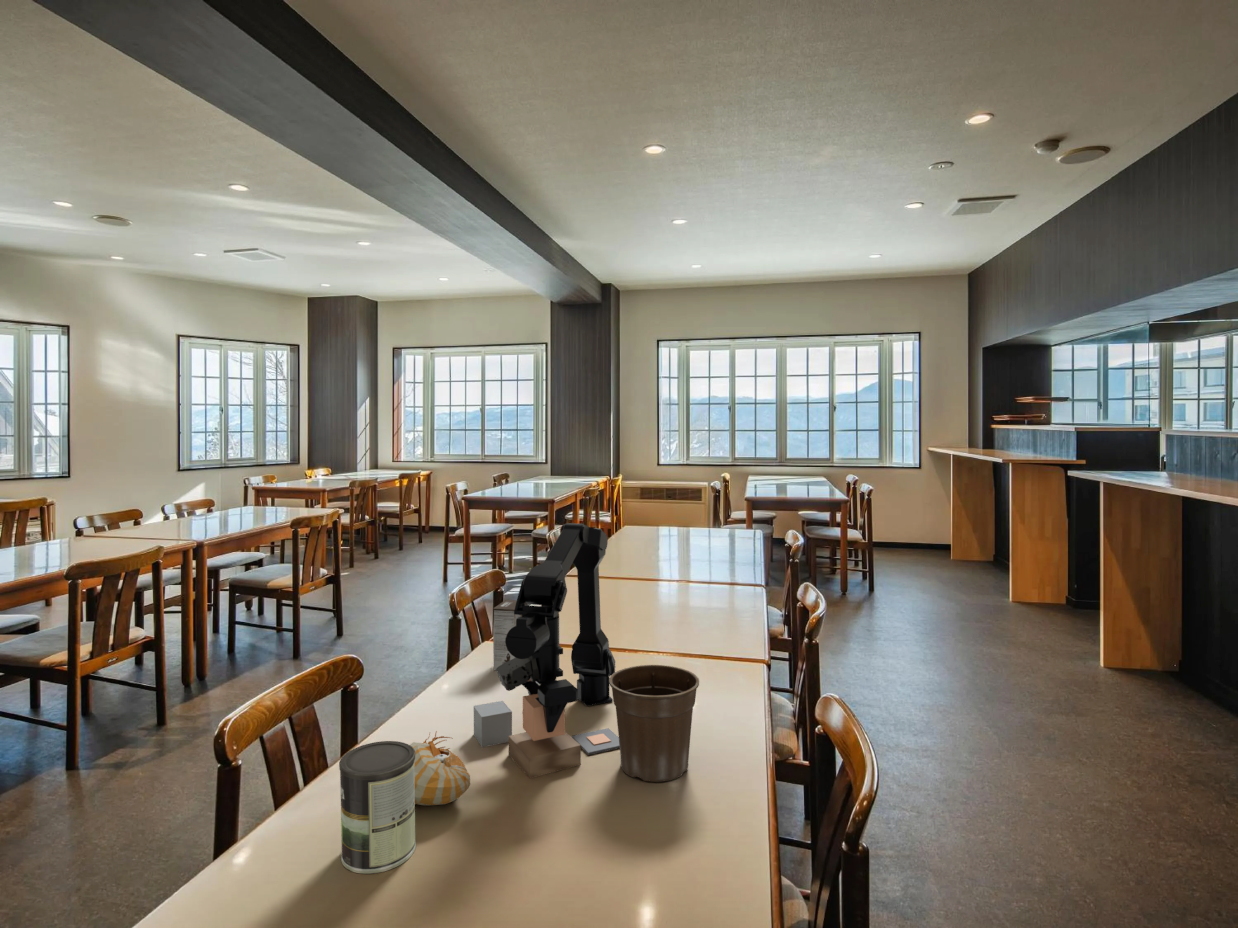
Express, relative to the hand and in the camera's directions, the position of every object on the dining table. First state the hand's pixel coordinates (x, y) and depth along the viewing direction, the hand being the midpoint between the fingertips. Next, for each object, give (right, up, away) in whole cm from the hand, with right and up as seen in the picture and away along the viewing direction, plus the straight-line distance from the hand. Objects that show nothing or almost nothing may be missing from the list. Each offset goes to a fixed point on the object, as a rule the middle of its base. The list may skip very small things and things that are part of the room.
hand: (543, 724), depth 128 cm
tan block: (0, -7, 0) cm, 7 cm away
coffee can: (-21, -8, -28) cm, 36 cm away
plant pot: (+20, -7, -2) cm, 21 cm away
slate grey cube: (-11, -6, +9) cm, 16 cm away
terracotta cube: (0, -1, 0) cm, 1 cm away
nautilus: (-18, -7, -10) cm, 22 cm away
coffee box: (-14, -4, +51) cm, 53 cm away
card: (+10, -6, +7) cm, 14 cm away
